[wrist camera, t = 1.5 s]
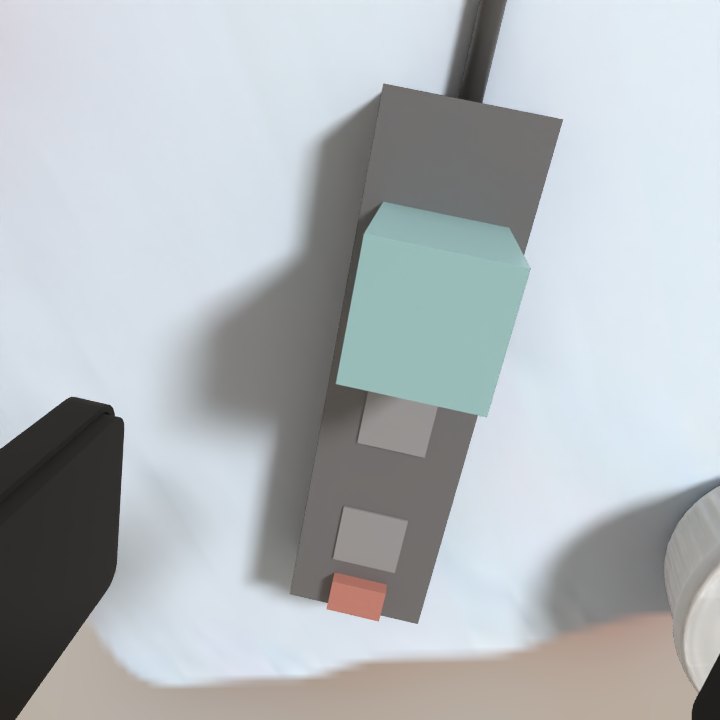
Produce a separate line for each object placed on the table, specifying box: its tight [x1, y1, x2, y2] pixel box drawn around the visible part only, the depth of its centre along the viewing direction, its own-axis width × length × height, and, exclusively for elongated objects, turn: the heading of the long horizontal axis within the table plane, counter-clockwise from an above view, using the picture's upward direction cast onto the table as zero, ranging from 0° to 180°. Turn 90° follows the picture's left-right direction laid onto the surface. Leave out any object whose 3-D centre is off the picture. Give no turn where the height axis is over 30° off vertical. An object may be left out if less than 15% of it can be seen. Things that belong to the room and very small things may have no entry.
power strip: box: [290, 0, 563, 624], centre depth 25 cm, size 30×6×4 cm, turn 169°
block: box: [336, 202, 531, 417], centre depth 22 cm, size 4×4×8 cm
